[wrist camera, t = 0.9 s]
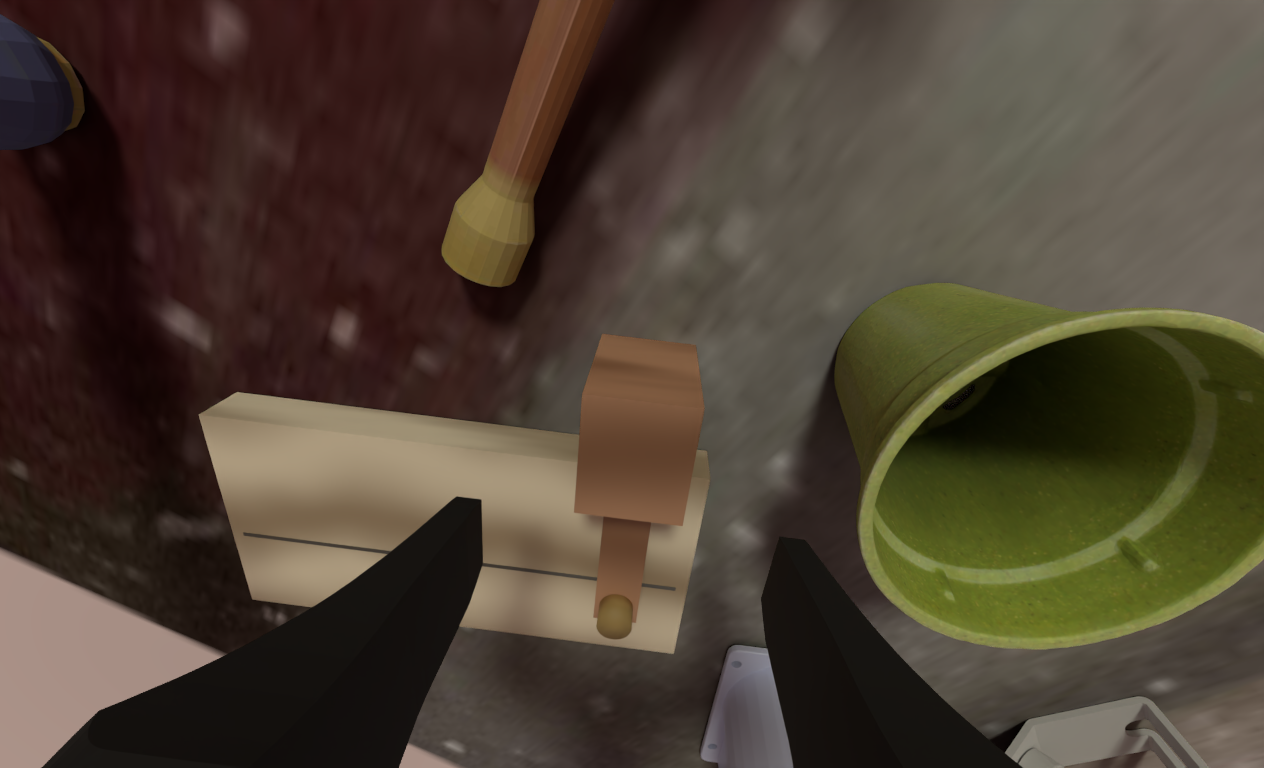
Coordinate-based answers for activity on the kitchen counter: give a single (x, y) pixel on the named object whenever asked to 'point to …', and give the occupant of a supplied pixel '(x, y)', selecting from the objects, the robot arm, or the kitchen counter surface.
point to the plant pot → (1052, 462)
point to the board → (432, 512)
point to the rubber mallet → (34, 90)
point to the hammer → (524, 143)
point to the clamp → (1100, 736)
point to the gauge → (635, 459)
